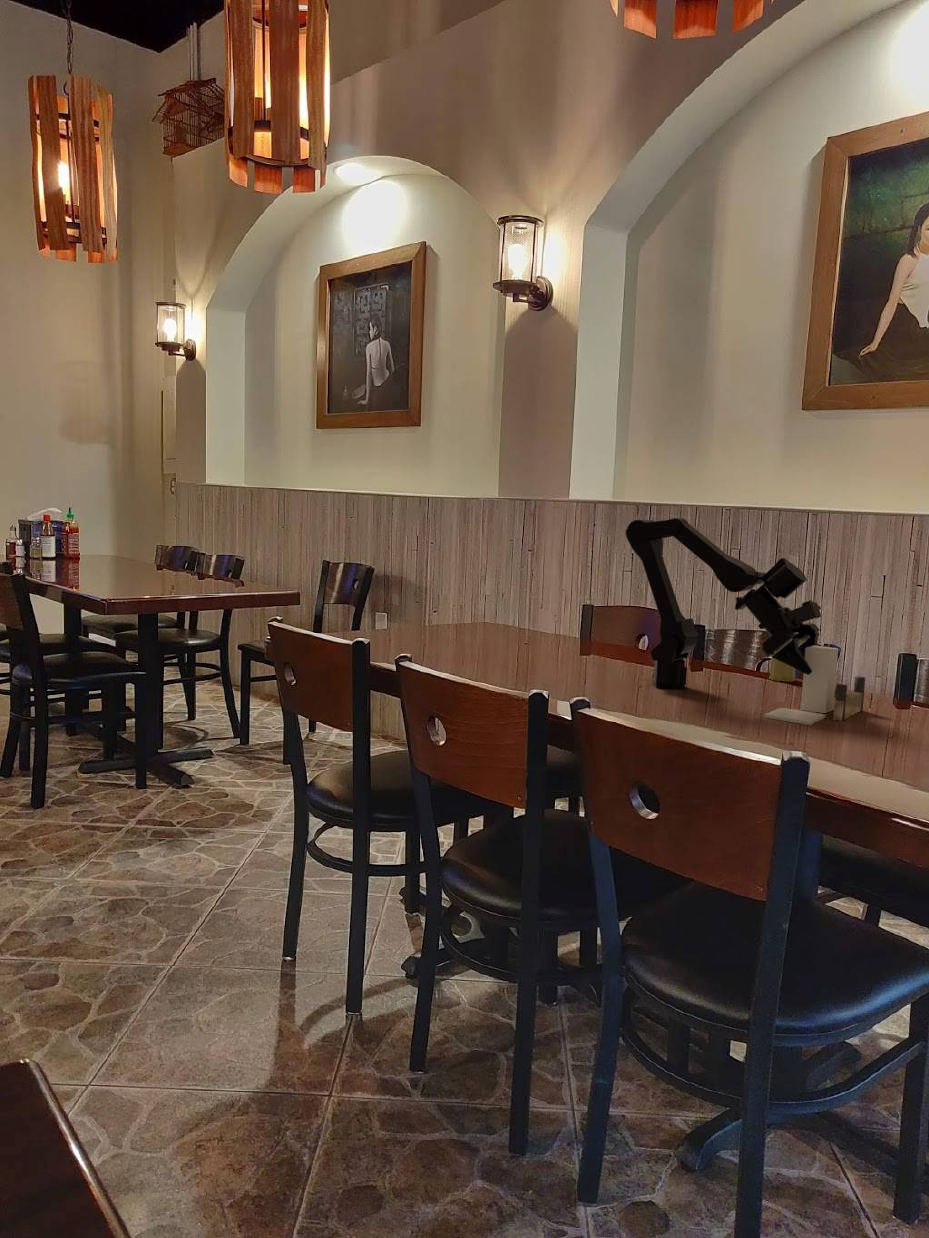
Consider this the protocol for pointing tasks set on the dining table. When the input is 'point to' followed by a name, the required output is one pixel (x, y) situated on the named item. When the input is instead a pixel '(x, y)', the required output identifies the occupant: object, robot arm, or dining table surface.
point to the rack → (849, 699)
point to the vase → (781, 671)
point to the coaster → (795, 716)
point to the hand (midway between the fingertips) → (818, 670)
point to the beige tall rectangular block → (819, 679)
